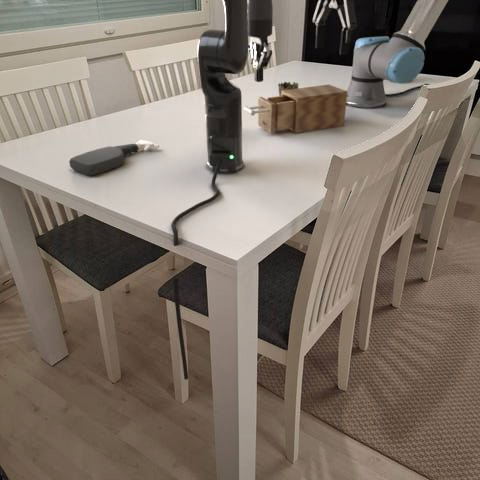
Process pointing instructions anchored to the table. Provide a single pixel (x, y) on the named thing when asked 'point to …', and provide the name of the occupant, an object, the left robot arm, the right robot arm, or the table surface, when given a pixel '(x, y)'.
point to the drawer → (274, 113)
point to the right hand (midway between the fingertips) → (331, 51)
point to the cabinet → (317, 107)
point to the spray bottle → (106, 157)
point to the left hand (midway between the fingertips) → (258, 81)
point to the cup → (287, 86)
